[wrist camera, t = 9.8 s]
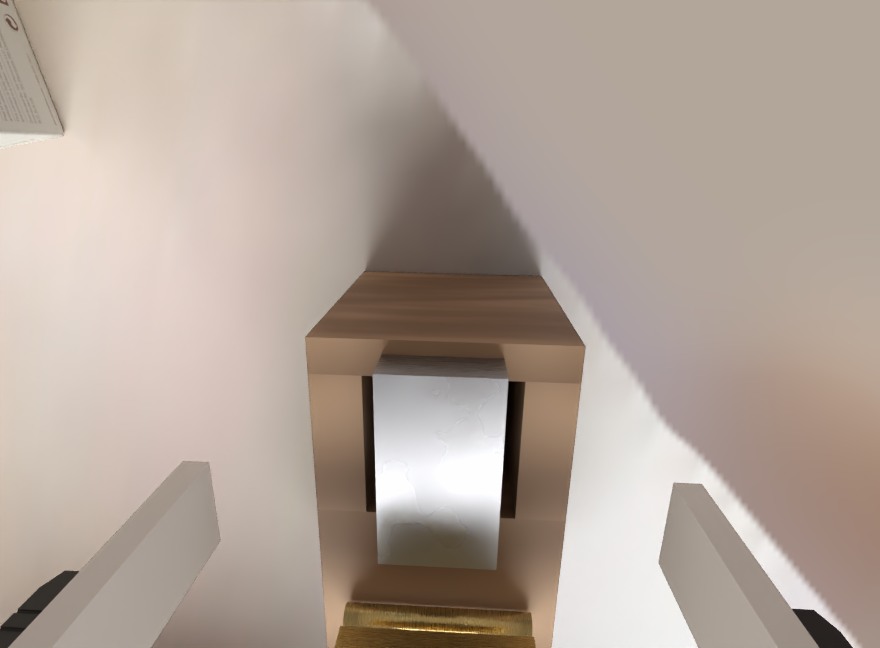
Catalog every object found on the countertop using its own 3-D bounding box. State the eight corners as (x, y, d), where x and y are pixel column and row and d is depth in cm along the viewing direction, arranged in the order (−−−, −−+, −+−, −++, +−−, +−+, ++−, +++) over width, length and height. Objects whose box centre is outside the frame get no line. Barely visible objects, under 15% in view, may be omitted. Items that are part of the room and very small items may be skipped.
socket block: (364, 271, 26) (305, 336, 16) (541, 276, 26) (585, 346, 16) (373, 567, 32) (333, 741, 22) (517, 575, 31) (538, 755, 22)
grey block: (411, 284, 26) (372, 374, 15) (491, 287, 25) (508, 379, 15) (412, 409, 28) (378, 563, 17) (485, 412, 28) (496, 570, 17)
